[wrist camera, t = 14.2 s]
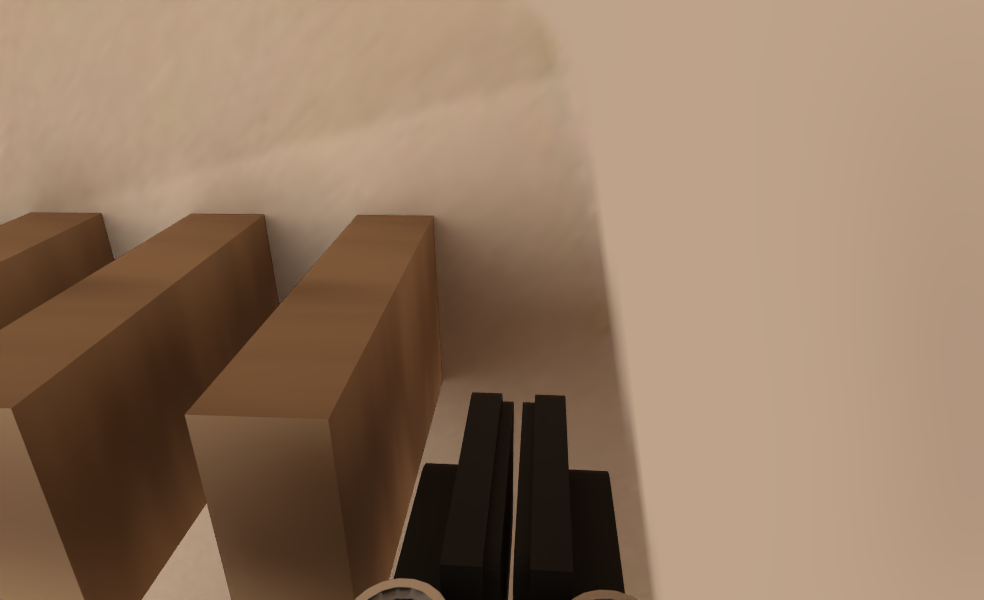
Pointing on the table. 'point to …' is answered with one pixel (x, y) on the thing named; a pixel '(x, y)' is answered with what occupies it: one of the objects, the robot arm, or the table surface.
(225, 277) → the domino
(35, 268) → the domino
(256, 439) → the domino
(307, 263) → the table surface
